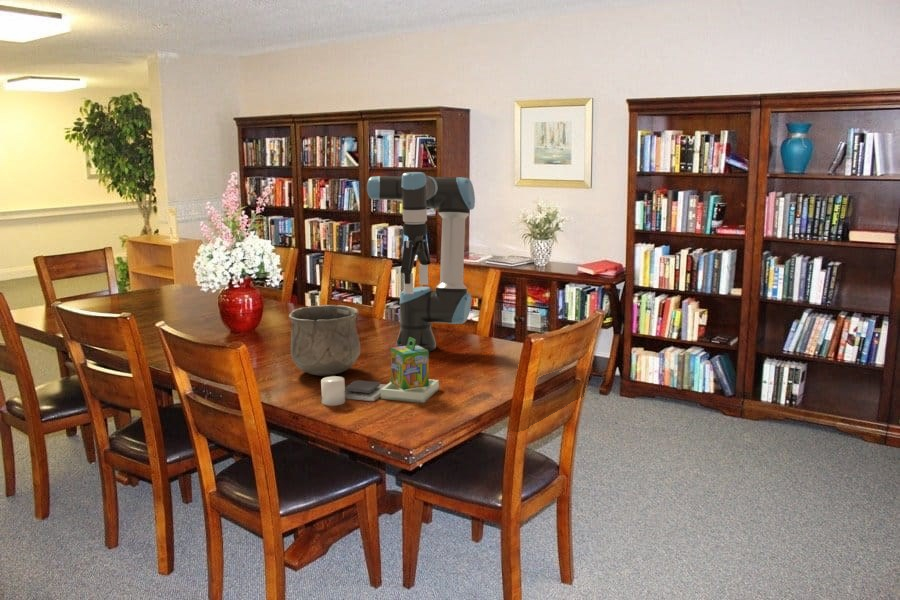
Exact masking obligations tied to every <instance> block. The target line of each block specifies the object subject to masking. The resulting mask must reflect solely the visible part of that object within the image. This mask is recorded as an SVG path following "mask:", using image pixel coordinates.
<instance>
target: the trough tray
mask: <svg viewBox="0 0 900 600" xmlns="http://www.w3.org/2000/svg"><path fill="white" fill-rule="evenodd" d="M439 381H440V380H439V379H433V378H432V379H431V378H429V386H425V387H418V388H412V389H407V390H402V389H401V388H399V387H398V386H396V385H395V384H393V383H391V381H389V383H387V384H385V385H386V386H384V387H383V388H382V389H381V396H380V399H381V400H389V401H390V400H391V401H400V402H407V403H408V402H409V403H410V402H411V403H419V404H420V403H421V404H424V403H426V402H427V401H428V400H429V399H431V397H432V396H433V395H435V393H436V392H438V390H439V388H440V384H439V383H440V382H439Z"/></svg>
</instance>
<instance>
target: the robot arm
mask: <svg viewBox="0 0 900 600" xmlns="http://www.w3.org/2000/svg"><path fill="white" fill-rule="evenodd" d="M366 191H367V196H368V198H369V199H371V200H378V201H379V200H384V201H398V202H402V203H401V204H402V208H401V209H402V211H401V215H402V221H403V222H404V223H403V224H402V234H403V236H406V237H408V238H407V240H403V251H402V252H403V253H402V259H401V266H400V273H401V274H403V285H404V286H403V288H404V289H403V290H402V291H401V292H400V293H399V314H400V315H399V320H400V321H399V324H400V328H399V332H398V335H397V339H396V342H395V347H400V346H407V343H408V339H409V337H411V338H413V339H416V345H419V346H421V347H423V348H425V349H427V350H428V352H429V353H430V352H432V351H434V350H436V348H437V343H436V339H435V336H434V333H433V330H432V323H434V324H435V323H436V324H437V323H438V324H451V325H455V324H456V325H458V324H459V325H461V324H464V323H466V322H467V320H468V318H469V316H470V313H471V312H470V311H471V307H472V293H470V292H468V288H467V286H466V285H465V284H464V268H465V267H464V264H465V260H464V259H465V237H466V235H465V234H466V219H467V218H468V217H469V216H470V212H471V211H472V210H474V208H475V204H476V197H475V196H476V195H475V191H474V186H473V183H472V180H470V179H469V177H468V178H467V177H459V176H452V177H451V176H447V177H445V176H444V177H442V176H441V177H437V176H430V175H426V173H425V172H422V171H408V172H404V173H402V175H401V176H388V175H387V176H385V175H383V176H380V175H377V176H370V177H369V178H368V180H367V184H366ZM427 209H433V210H435V209H436V210H437V211H438V212H437V213H438V215H439V216H440V217H441V219H442V220H441V246H440V271H439V274H440V276H439V277H440V278H439V283H438V284H436V286H435V291H432V289H431V287H430V286H429V267H428V265H431V262H432V261H431V257H430V252H429V247H428V243H427V241H428V240H427V235H428V224H427V223H426V222H427V221H428V213H427V211H428V210H427ZM470 210H471V211H470ZM416 256H417V258H418V261H419V265H418V273H419V274H418V277H419V279H418V281H419V285H420V286H417V287H414V273H413V272H412V271H413V267H414V265H415V260H416ZM421 285H422V286H421ZM423 285H424V286H423ZM410 345H413V342H412V341H411V342H410Z"/></svg>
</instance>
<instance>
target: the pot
mask: <svg viewBox="0 0 900 600" xmlns="http://www.w3.org/2000/svg"><path fill="white" fill-rule="evenodd" d="M358 315H360V311H359V309H357V308H356V307H352V306H348V305H340V304H338V305H336V304H321V305H311V306H306V307H299V308H296V309H293V310H292V311H291V312H290V313H289V315H288V318H289V319H290V320H291V321H290V322H291V324H290V327H291V332H290V356H291V359H292V361H293V363H294V365H295V366H296V367H297V368H298V369H300V370H301V371H303V372H304V373H308V374H309V375H314V376H320V377H329V376H335V375H337V374H341V373H343V372H345V371H348V370H349V369H350V368H351V367H352V366H353V365H354V364H355V362H356V361H357V360H358V359H359V356H360V354H361V342H360V338H359V335H358V331H357V322H356V319H357V316H358Z"/></svg>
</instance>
